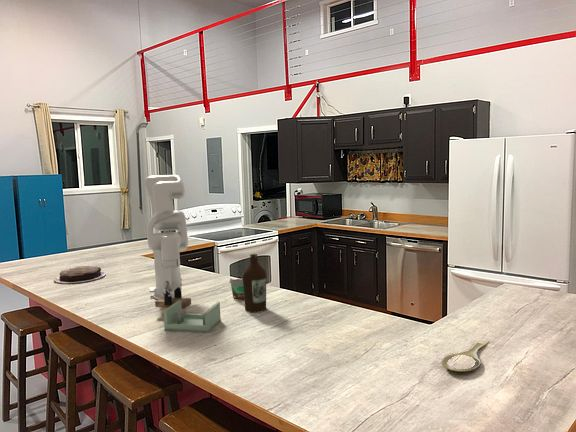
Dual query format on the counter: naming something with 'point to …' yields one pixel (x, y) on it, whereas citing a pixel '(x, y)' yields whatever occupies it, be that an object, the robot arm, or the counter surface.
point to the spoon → (469, 353)
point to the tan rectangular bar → (166, 308)
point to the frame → (191, 319)
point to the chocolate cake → (80, 275)
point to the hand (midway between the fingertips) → (173, 302)
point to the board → (173, 302)
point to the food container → (237, 288)
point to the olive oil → (254, 286)
